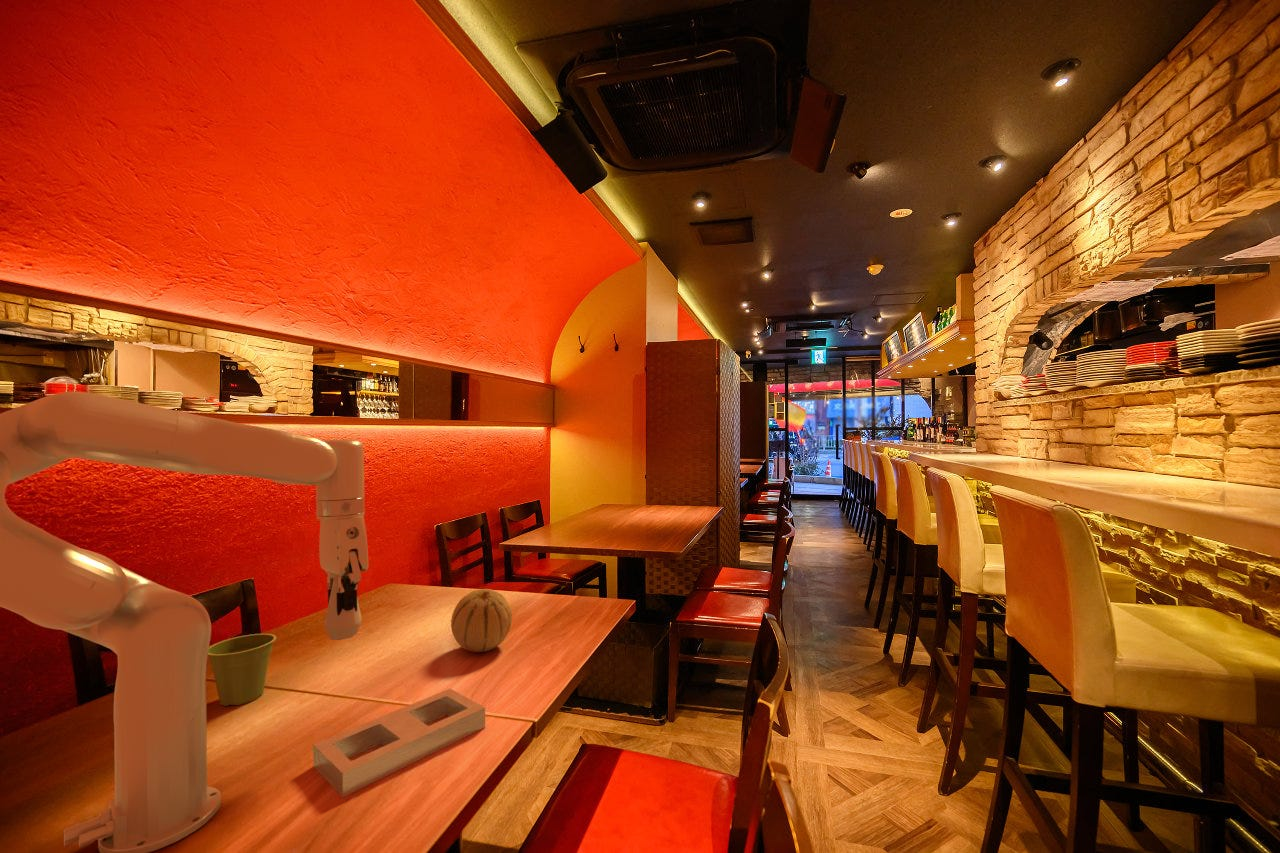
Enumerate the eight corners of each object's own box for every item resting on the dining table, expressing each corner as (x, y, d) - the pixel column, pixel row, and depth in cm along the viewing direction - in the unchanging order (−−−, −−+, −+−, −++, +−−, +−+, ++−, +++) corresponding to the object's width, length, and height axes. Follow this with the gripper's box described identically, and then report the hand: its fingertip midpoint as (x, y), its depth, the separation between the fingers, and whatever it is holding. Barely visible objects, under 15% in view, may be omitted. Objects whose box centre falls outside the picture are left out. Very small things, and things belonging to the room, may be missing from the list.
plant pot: (290, 687, 114) (289, 634, 114) (235, 716, 103) (234, 657, 103) (248, 682, 117) (247, 630, 117) (190, 709, 106) (189, 652, 106)
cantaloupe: (481, 634, 142) (480, 578, 143) (524, 643, 136) (523, 584, 136) (437, 655, 129) (436, 593, 129) (482, 666, 122) (481, 600, 123)
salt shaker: (345, 643, 91) (344, 567, 92) (316, 641, 93) (315, 566, 93) (368, 630, 97) (367, 559, 97) (341, 629, 98) (340, 558, 99)
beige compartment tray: (342, 797, 78) (342, 773, 78) (313, 766, 86) (313, 744, 86) (485, 727, 96) (485, 707, 96) (450, 706, 104) (450, 688, 104)
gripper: (383, 509, 93) (385, 615, 93) (344, 503, 103) (346, 598, 103) (336, 514, 87) (338, 627, 87) (300, 508, 98) (302, 608, 97)
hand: (342, 610), depth 95 cm, fingers closed on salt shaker, 3 cm apart
